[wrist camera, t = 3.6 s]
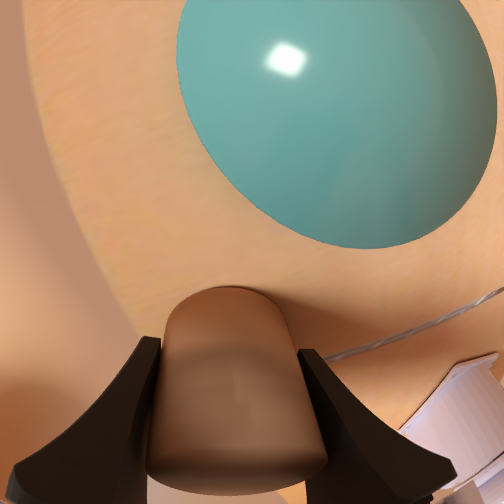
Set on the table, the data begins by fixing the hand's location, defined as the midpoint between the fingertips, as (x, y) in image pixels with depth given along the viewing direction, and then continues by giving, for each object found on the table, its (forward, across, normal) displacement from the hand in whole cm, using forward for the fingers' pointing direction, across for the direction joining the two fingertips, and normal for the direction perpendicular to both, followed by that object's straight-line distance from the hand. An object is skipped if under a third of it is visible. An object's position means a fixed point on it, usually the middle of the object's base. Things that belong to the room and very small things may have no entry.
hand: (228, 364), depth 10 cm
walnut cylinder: (+1, 0, 0) cm, 1 cm away
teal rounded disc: (+2, -3, -11) cm, 12 cm away
